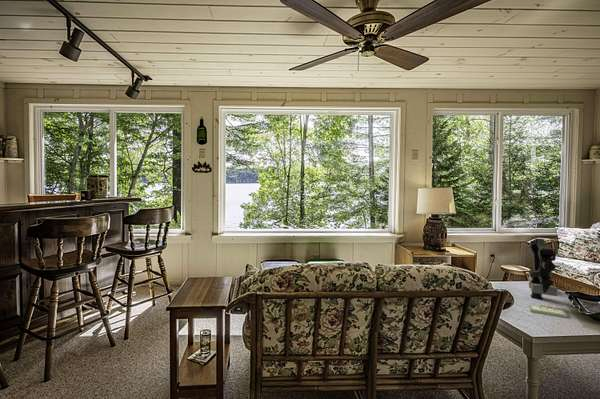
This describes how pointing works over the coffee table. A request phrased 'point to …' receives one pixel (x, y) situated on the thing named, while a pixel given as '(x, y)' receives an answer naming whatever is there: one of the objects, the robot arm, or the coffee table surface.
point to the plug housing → (539, 289)
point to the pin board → (547, 310)
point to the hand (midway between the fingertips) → (543, 291)
